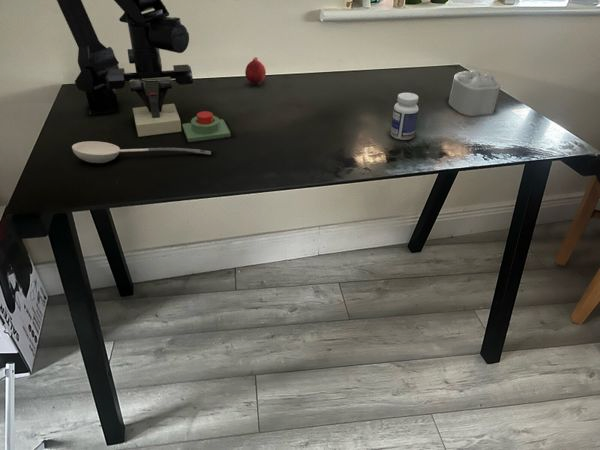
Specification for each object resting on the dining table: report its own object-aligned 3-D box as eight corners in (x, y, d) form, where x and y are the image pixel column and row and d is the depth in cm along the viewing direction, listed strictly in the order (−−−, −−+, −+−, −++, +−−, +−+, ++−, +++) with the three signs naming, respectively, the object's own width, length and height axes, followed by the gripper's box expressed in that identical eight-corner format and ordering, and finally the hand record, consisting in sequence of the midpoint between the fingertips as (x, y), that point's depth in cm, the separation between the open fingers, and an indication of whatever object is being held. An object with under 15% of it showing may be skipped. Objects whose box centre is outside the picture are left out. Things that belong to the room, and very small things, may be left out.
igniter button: (199, 126, 113) (198, 118, 112) (196, 119, 116) (195, 112, 115) (214, 124, 114) (213, 116, 113) (211, 118, 117) (210, 110, 116)
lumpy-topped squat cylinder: (463, 116, 128) (471, 84, 123) (440, 97, 138) (446, 67, 133) (498, 113, 130) (507, 81, 125) (473, 95, 140) (480, 65, 135)
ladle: (75, 153, 105) (74, 132, 103) (208, 164, 112) (210, 145, 110) (70, 166, 100) (68, 145, 98) (209, 177, 108) (211, 157, 105)
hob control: (138, 136, 114) (135, 124, 112) (134, 119, 121) (132, 107, 119) (181, 131, 117) (180, 119, 115) (175, 114, 124) (174, 102, 122)
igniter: (188, 142, 112) (186, 130, 110) (182, 127, 118) (181, 116, 116) (230, 136, 115) (230, 125, 113) (223, 122, 121) (222, 111, 119)
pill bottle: (415, 132, 120) (422, 93, 114) (411, 142, 115) (419, 102, 109) (392, 128, 121) (398, 89, 115) (387, 138, 117) (393, 98, 111)
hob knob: (160, 117, 115) (157, 100, 113) (152, 118, 115) (149, 101, 112) (159, 109, 119) (156, 92, 117) (151, 109, 119) (149, 92, 116)
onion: (265, 89, 139) (264, 61, 135) (244, 88, 139) (243, 60, 135) (266, 81, 144) (266, 54, 139) (246, 81, 144) (245, 53, 139)
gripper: (185, 32, 116) (192, 96, 125) (102, 36, 112) (115, 101, 121) (189, 47, 107) (196, 113, 116) (99, 51, 103) (114, 120, 112)
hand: (155, 111), depth 117 cm, fingers closed on hob knob, 2 cm apart
